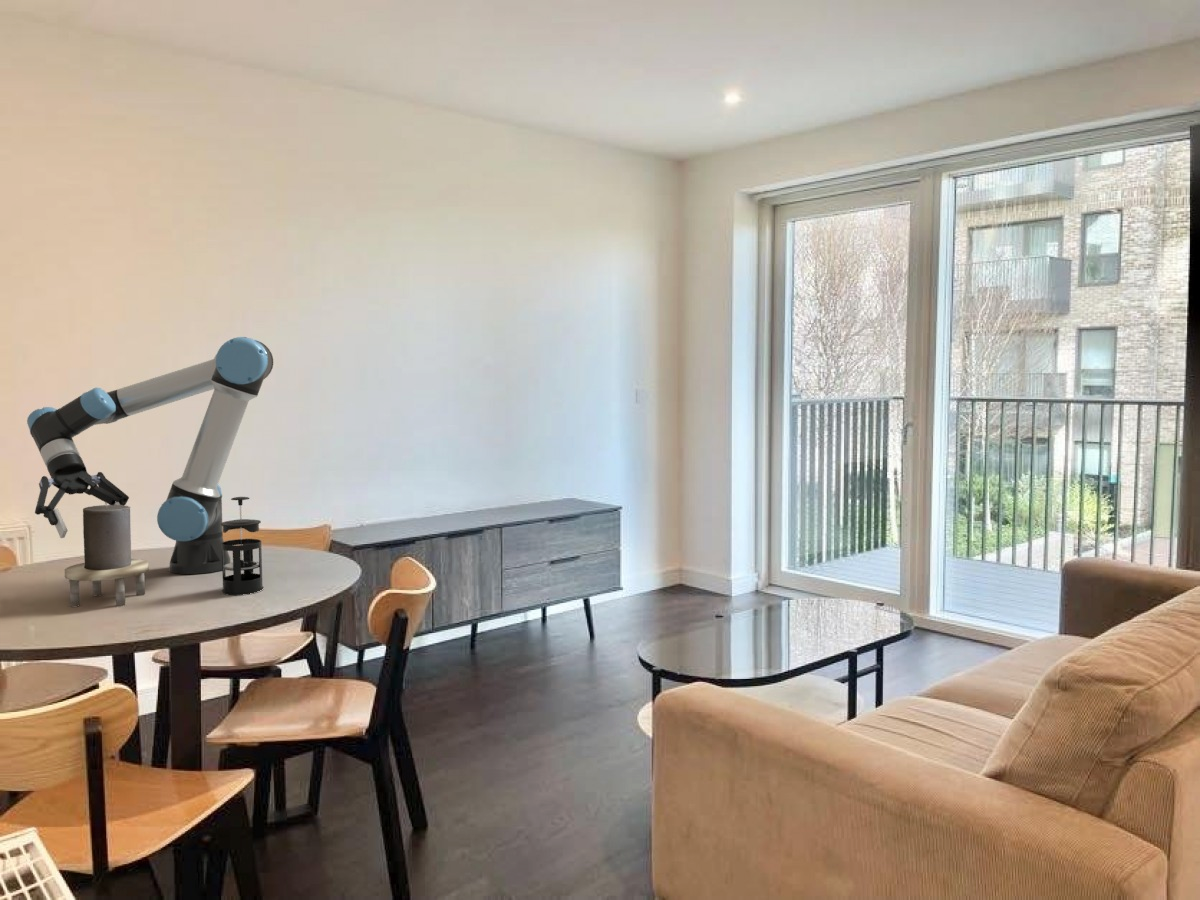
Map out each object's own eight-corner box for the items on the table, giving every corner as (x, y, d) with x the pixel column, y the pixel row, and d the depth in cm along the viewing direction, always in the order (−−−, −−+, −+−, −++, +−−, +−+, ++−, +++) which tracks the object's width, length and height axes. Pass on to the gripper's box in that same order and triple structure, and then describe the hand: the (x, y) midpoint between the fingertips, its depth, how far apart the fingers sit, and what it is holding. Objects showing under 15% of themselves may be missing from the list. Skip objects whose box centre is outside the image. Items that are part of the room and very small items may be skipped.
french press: (257, 595, 207) (254, 499, 206) (215, 596, 206) (212, 500, 205) (269, 584, 219) (267, 493, 217) (230, 585, 218) (227, 494, 216)
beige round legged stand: (162, 590, 212) (160, 558, 211) (129, 608, 195) (127, 573, 194) (89, 591, 211) (88, 559, 210) (50, 610, 194) (48, 574, 193)
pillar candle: (75, 570, 198) (72, 504, 196) (99, 561, 207) (97, 498, 206) (117, 570, 198) (116, 505, 197) (140, 561, 207) (138, 499, 206)
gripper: (112, 468, 223) (143, 532, 215) (1, 476, 203) (31, 548, 195) (121, 448, 219) (154, 513, 212) (9, 455, 199) (41, 527, 192)
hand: (95, 530), depth 203 cm, fingers open, 13 cm apart
